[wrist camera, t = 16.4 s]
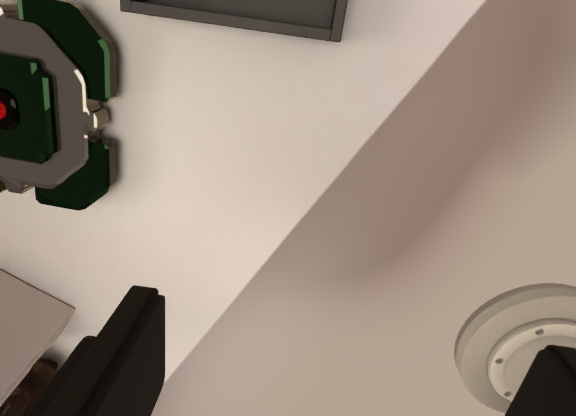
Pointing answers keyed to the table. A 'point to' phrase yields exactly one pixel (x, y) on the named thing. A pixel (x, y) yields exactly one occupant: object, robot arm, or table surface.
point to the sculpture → (29, 389)
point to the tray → (254, 14)
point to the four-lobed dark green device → (55, 103)
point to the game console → (25, 329)
